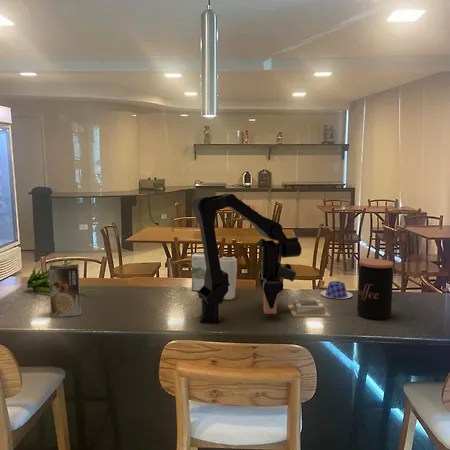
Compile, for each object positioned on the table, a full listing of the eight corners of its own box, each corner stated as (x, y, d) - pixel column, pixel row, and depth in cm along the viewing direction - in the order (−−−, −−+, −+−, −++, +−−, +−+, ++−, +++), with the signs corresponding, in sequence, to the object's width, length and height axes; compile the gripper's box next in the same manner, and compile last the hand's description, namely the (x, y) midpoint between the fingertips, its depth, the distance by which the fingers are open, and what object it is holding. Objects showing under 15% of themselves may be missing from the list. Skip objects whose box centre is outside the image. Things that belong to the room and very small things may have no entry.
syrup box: (207, 288, 178) (207, 253, 176) (205, 291, 172) (205, 255, 170) (194, 287, 178) (193, 252, 177) (191, 291, 172) (191, 255, 171)
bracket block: (276, 313, 146) (277, 290, 145) (264, 313, 146) (265, 290, 145) (275, 309, 150) (275, 287, 149) (263, 309, 150) (263, 287, 149)
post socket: (330, 317, 142) (330, 308, 142) (293, 317, 142) (293, 308, 141) (321, 306, 154) (321, 297, 153) (287, 306, 154) (287, 297, 153)
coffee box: (81, 309, 149) (79, 263, 147) (80, 315, 143) (78, 267, 141) (52, 312, 147) (50, 265, 145) (50, 318, 140) (48, 269, 139)
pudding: (334, 290, 176) (334, 277, 176) (359, 296, 166) (359, 283, 166) (313, 294, 169) (314, 281, 169) (338, 302, 160) (338, 288, 159)
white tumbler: (237, 295, 166) (237, 257, 165) (236, 301, 160) (236, 260, 158) (219, 295, 167) (219, 256, 165) (217, 300, 160) (217, 260, 158)
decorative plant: (53, 308, 151) (51, 267, 149) (25, 291, 173) (23, 254, 171) (102, 298, 163) (100, 260, 161) (69, 283, 185) (68, 249, 183)
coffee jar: (350, 312, 147) (352, 259, 145) (376, 308, 151) (378, 257, 149) (371, 322, 137) (373, 266, 135) (398, 318, 141) (401, 263, 139)
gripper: (299, 264, 136) (298, 312, 138) (290, 253, 155) (289, 296, 157) (264, 264, 136) (263, 312, 138) (258, 253, 155) (258, 296, 156)
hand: (269, 304), depth 147 cm, fingers open, 9 cm apart
